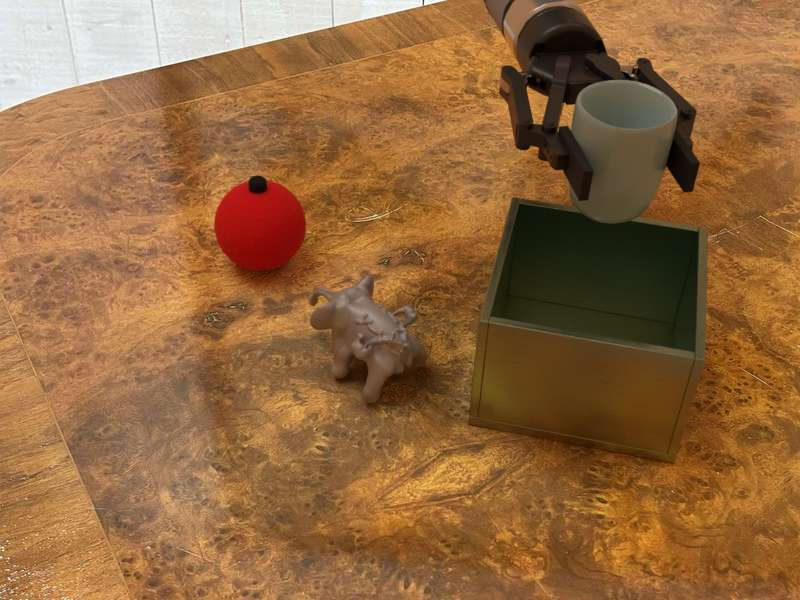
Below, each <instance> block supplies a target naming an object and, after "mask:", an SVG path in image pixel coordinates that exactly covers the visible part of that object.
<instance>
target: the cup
mask: <svg viewBox="0 0 800 600" xmlns="http://www.w3.org/2000/svg"><path fill="white" fill-rule="evenodd" d="M676 122H677V108H676V106H675V104H674V103H673V101H672V100H671V99H670V98H669V97H668V96H667V95H666V94H664V93H663V92H662V91H660V90H658V89H656V88H654V87H652V86H650V85H647V84H644V83H640V82H636V81H629V80H609V81H602V82H598V83H594V84H592V85H589V86H587V87H586V88H584V89H583V90H582V91H581V92H580V93H579V94H578V96H577V99H576V103H575V104H574V107H573V112H572V120H571V125H570V130H571V132H572V134H573V135H574V137H575V139H576V141H577V143H578V144H579V146H580V148H581V150H582V151H583V153H584V155H585V157H586V158H587V160H588V162H589V164H590V166H591V167H592V169H593V177H592V182H591V188H590V194H589V199H588V200H586V201H579V200H578V198H577V196H576V195H575V193H574V191H573V189H572V187H571V185H570V183H569V181H568V179H567V177H566V176H565V178H566V186H567V191H568V196H569V198H570V200H571V202H572V204H573V205H574V207H576V208H577V209H578V210H579V211H580V212H581V213H582V214H584V215H585V216H587V217H588V218H590V219H592V220H594V221H597V222H600V223H606V224H617V223H623V222H627V221H631V220H633V219H635V218H637V217H641V216H642V215H643V214H644V213H645V212H646V211H647V210H648V209H649V208H650V206H651V205H652V204H653V202H654V200H655V198H656V197H657V194H658V193H659V189H660V188H661V185H662V182H663V179H664V176H665V172H666V169H667V167H666V166H667V162H668V158H669V154H670V150H671V146H672V141H673V137H674V133H675V128H676Z"/></svg>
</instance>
